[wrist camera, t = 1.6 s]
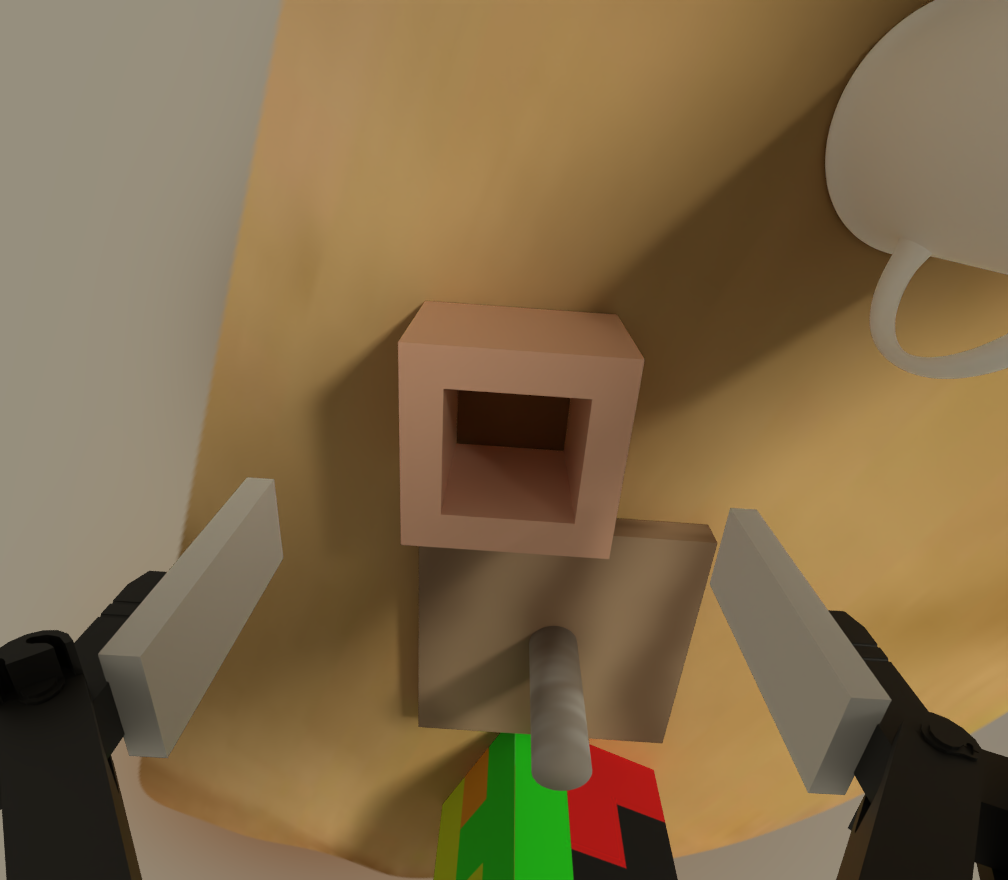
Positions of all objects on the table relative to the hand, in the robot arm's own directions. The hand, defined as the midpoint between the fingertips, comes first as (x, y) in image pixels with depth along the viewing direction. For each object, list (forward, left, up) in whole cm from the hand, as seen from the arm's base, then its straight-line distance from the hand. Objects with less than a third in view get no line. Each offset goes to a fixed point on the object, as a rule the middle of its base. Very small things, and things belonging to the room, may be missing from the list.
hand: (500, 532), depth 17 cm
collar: (0, 0, -10) cm, 10 cm away
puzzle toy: (-4, +27, -10) cm, 29 cm away
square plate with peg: (-3, +13, -10) cm, 17 cm away
